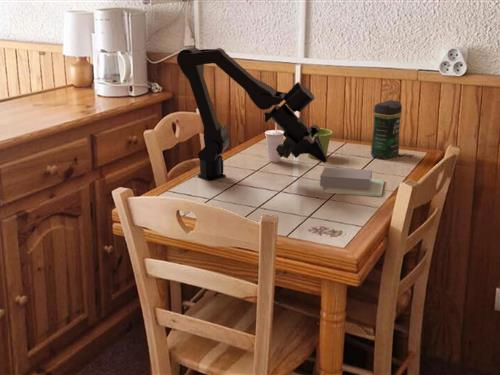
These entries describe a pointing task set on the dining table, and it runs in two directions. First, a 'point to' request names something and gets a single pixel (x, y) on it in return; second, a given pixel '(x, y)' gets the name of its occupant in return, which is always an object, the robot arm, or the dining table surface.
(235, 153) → the dining table surface
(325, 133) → the plant pot
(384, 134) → the coffee jar
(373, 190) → the pad
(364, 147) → the dining table surface
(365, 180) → the slate tile
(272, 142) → the smoothie
